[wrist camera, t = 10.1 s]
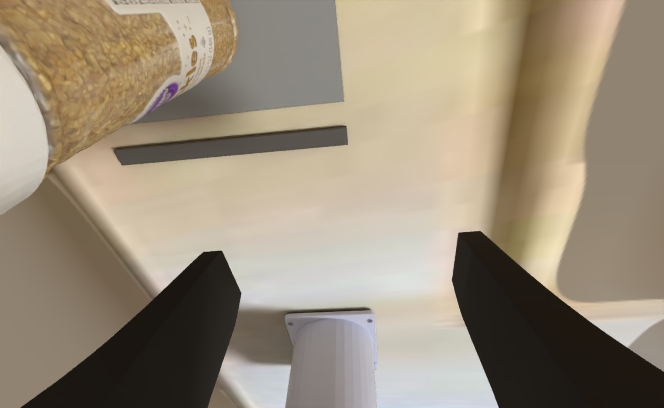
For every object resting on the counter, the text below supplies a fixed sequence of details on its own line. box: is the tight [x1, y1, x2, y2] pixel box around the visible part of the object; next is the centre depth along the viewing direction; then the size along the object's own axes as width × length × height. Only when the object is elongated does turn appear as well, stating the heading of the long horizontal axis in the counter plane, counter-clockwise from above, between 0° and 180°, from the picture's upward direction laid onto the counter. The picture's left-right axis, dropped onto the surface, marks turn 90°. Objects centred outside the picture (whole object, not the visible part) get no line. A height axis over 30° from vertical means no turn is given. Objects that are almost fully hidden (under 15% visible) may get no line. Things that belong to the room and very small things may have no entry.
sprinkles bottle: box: [0, 0, 238, 215], centre depth 9 cm, size 5×5×13 cm
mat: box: [131, 0, 344, 124], centre depth 14 cm, size 10×14×1 cm
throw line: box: [114, 126, 348, 165], centre depth 18 cm, size 1×14×1 cm, turn 97°
